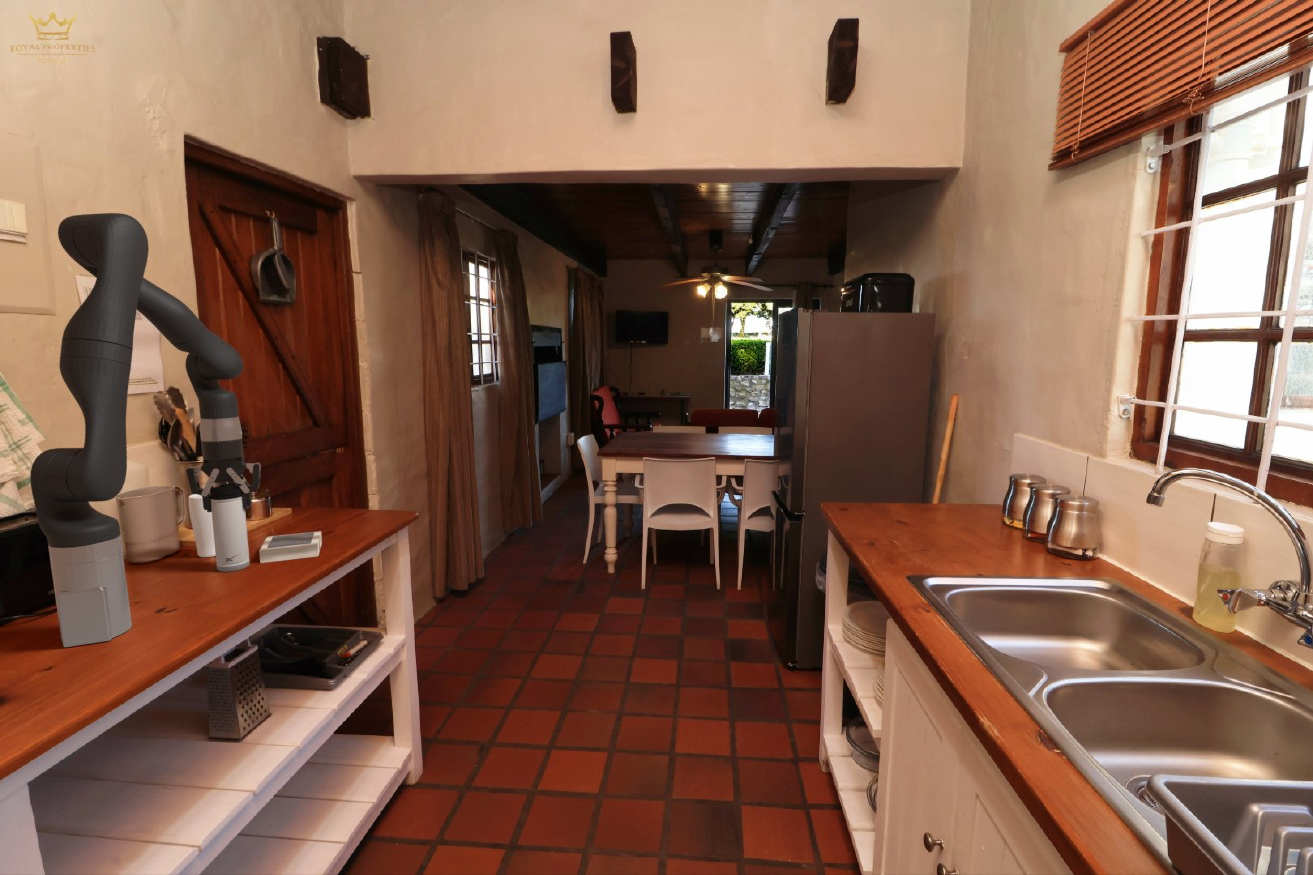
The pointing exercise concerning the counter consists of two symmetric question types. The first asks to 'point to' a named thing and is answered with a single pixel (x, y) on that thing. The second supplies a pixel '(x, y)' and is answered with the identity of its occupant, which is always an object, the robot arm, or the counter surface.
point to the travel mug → (229, 527)
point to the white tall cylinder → (201, 526)
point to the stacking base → (291, 547)
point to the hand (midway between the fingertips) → (228, 509)
